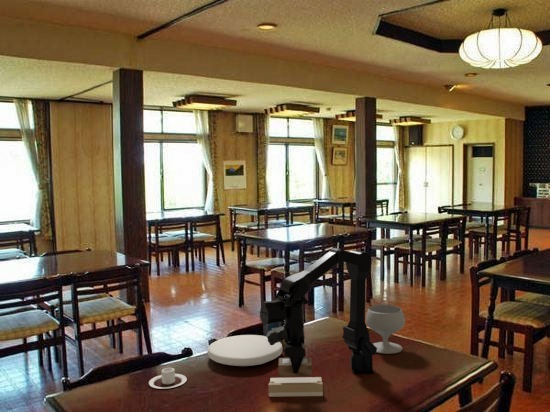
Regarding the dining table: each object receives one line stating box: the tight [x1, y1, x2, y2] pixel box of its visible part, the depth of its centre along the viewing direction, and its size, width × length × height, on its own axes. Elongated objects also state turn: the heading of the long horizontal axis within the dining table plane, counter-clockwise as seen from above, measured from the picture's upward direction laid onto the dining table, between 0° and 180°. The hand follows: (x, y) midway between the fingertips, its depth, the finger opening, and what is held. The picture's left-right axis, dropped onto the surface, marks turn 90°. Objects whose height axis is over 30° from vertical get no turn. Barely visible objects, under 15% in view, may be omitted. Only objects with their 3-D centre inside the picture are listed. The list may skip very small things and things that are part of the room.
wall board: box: [267, 376, 324, 398], centre depth 162 cm, size 16×11×4 cm
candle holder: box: [148, 367, 188, 390], centre depth 170 cm, size 12×12×4 cm
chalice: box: [365, 304, 406, 355], centre depth 193 cm, size 14×14×15 cm
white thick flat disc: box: [207, 334, 283, 367], centre depth 190 cm, size 28×6×27 cm
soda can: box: [262, 322, 282, 337], centre depth 208 cm, size 7×7×12 cm
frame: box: [278, 357, 313, 378], centre depth 162 cm, size 10×6×4 cm, turn 88°
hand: (295, 369), depth 162 cm, fingers closed on frame, 6 cm apart
